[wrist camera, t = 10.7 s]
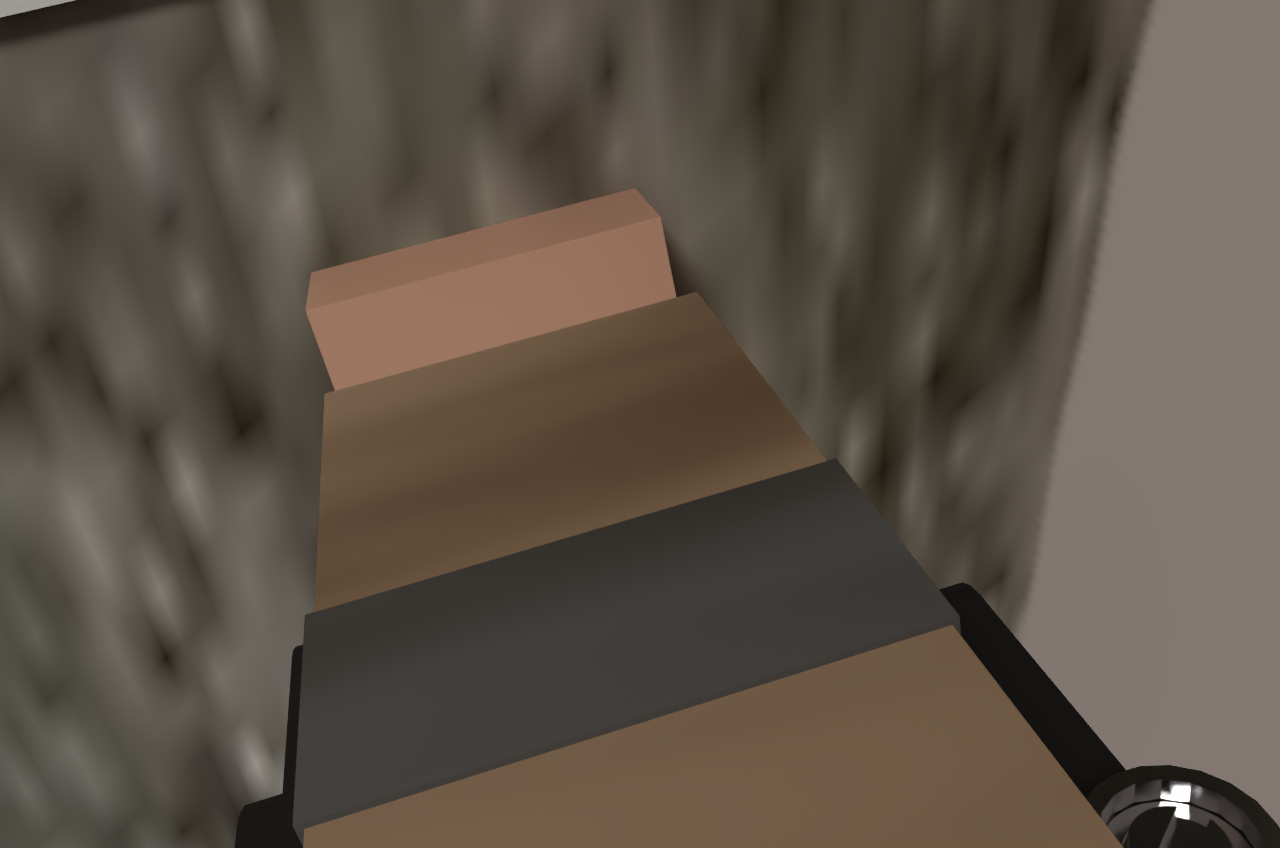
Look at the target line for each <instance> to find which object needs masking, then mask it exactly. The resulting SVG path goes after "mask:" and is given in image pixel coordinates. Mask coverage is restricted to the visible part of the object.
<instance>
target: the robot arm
mask: <svg viewBox="0 0 1280 848" xmlns="http://www.w3.org/2000/svg"><path fill="white" fill-rule="evenodd" d="M939 590H940V592H941V593H942V594H943V596H944V597H945V598H946V599H947V601H948V602H949V603H950V604H951V606H952V607H953V608H954V610H955V611H956V612H957V613H958V615H959V616H960V629H961V637H962V638H963V639H964V640H965V642H966V643H967V644H968V646H969V647H970V648H971V650H972V651H973V652H974V654H975V655H976V656H977V657H978V659H979V660H980V661H981V663H982V664H983V665H984V667H985V668H986V669H987V670H988V672H989V673H990V674H991V676H992V677H993V678H994V680H995V681H996V682H997V683H998V685H999V686H1000V687H1001V689H1002V690H1003V691H1004V693H1005V694H1006V695H1007V697H1008V698H1009V699H1010V700H1011V702H1012V703H1013V704H1014V706H1015V707H1016V708H1017V710H1018V711H1019V712H1020V713H1021V715H1022V716H1023V717H1024V719H1025V720H1026V721H1027V723H1028V724H1029V725H1030V727H1031V728H1032V729H1033V730H1034V732H1035V733H1036V734H1037V736H1038V737H1039V738H1040V740H1041V741H1042V742H1043V743H1044V745H1045V746H1046V747H1047V749H1048V750H1049V751H1050V753H1051V754H1052V755H1053V756H1054V758H1055V759H1056V760H1057V762H1058V763H1059V764H1060V766H1061V767H1062V768H1063V770H1064V771H1065V772H1066V773H1067V775H1068V776H1069V777H1070V779H1071V780H1072V781H1073V783H1074V784H1075V785H1076V786H1077V788H1078V789H1079V790H1080V792H1081V793H1082V794H1083V796H1084V797H1085V798H1086V800H1087V801H1088V802H1089V803H1090V805H1091V806H1092V807H1093V809H1094V810H1095V811H1096V813H1097V814H1098V815H1099V816H1100V818H1101V819H1102V820H1103V822H1104V823H1105V824H1106V826H1107V827H1108V828H1109V829H1110V831H1111V832H1112V833H1113V835H1114V836H1115V837H1116V839H1117V840H1118V841H1119V843H1120V844H1121V845H1122V846H1123V848H1280V828H1279V826H1278V825H1277V823H1276V822H1275V821H1274V820H1273V819H1272V818H1271V817H1270V815H1269V814H1268V813H1267V812H1266V811H1265V810H1264V809H1263V808H1262V807H1261V805H1260V804H1259V803H1258V802H1257V801H1256V800H1254V799H1253V798H1251V797H1250V796H1248V795H1247V794H1245V793H1244V792H1243V791H1241V790H1240V789H1238V788H1237V787H1235V786H1234V785H1233V784H1231V783H1228V782H1226V781H1224V780H1221V779H1219V778H1216V777H1214V776H1212V775H1209V774H1207V773H1204V772H1202V771H1198V770H1193V769H1187V768H1182V767H1177V766H1171V765H1162V766H1139V767H1136V768H1132V769H1129V770H1125V768H1124V767H1123V766H1122V765H1121V764H1120V762H1119V761H1118V760H1117V759H1116V758H1115V756H1114V755H1113V754H1112V753H1111V752H1110V751H1109V749H1108V748H1107V747H1106V746H1105V744H1104V743H1103V742H1102V741H1101V740H1100V739H1099V737H1098V736H1097V735H1096V734H1095V732H1094V731H1093V730H1092V729H1091V727H1090V726H1089V725H1088V724H1087V723H1086V722H1085V720H1084V719H1083V718H1082V717H1081V715H1080V714H1079V713H1078V712H1077V711H1076V709H1075V708H1074V707H1073V706H1072V705H1071V704H1070V702H1069V701H1068V700H1067V699H1066V697H1065V696H1064V695H1063V694H1062V693H1061V691H1060V690H1059V689H1058V688H1057V687H1056V686H1055V684H1054V683H1053V682H1052V681H1051V679H1050V678H1049V677H1048V676H1047V675H1046V673H1045V672H1044V671H1043V670H1042V669H1041V667H1040V666H1039V665H1038V664H1037V663H1036V661H1035V660H1034V659H1033V658H1032V657H1031V655H1030V654H1029V653H1028V652H1027V651H1026V650H1025V648H1024V647H1023V646H1022V645H1021V643H1020V642H1019V641H1018V640H1017V639H1016V637H1015V636H1014V635H1013V634H1012V633H1011V631H1010V630H1009V629H1008V628H1007V627H1006V625H1005V624H1004V623H1003V622H1002V621H1001V619H1000V618H999V617H998V616H997V615H996V613H995V612H994V611H993V610H992V609H991V607H990V606H989V605H988V604H987V603H986V601H985V600H984V599H983V598H982V597H981V595H980V594H979V593H978V592H977V591H976V590H974V589H973V588H972V587H971V586H970V585H968V584H965V583H959V584H956V585H952V586H949V587H946V588H943V589H939ZM302 657H303V645H300V646H296V647H295V648H294V650H293V655H292V666H291V680H290V695H289V709H288V723H287V738H286V752H285V766H284V781H283V794H280V795H277V796H274V797H270V798H267V799H264V800H261V801H258V802H254V803H251V804H248V805H245V807H244V808H243V810H242V811H241V813H240V816H239V821H238V825H237V832H236V841H235V848H303V846H302V844H301V842H300V840H299V838H298V836H297V834H296V832H295V830H294V828H293V809H294V792H295V776H296V759H297V742H298V725H299V708H300V691H301V674H302Z"/></svg>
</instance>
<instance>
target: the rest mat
mask: <svg viewBox="0 0 1280 848" xmlns="http://www.w3.org/2000/svg"><path fill="white" fill-rule="evenodd" d="M70 1H74V0H0V17H5V16H9V15H13V14H18V13H22V12H27V11H31V10H35V9H40V8H44V7H48V6H53V5H57V4H61V3H66V2H70Z"/></svg>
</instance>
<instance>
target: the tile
mask: <svg viewBox="0 0 1280 848" xmlns="http://www.w3.org/2000/svg"><path fill="white" fill-rule="evenodd" d="M673 298H676V293H675V288H674V283H673V278H672V273H671V268H670V262H669V257H668V252H667V247H666V242H665V237H664V232H663V227H662V222H661V217H660V216H659V214H658V213H657V212H656V211H655V210H654V209H653V208H652V207H651V205H650V204H649V203H648V202H647V201H646V200H645V199H644V198H643V196H642V195H641V194H640V193H639V192H638V191H637V190H636V189H635V188H633V189H629V190H626V191H622V192H618V193H614V194H610V195H607V196H603V197H599V198H595V199H591V200H587V201H584V202H580V203H576V204H572V205H568V206H564V207H561V208H557V209H553V210H549V211H545V212H541V213H538V214H534V215H530V216H526V217H522V218H519V219H515V220H511V221H507V222H503V223H499V224H496V225H492V226H488V227H484V228H480V229H476V230H473V231H469V232H465V233H461V234H457V235H453V236H450V237H446V238H442V239H438V240H434V241H431V242H427V243H423V244H419V245H415V246H411V247H408V248H404V249H400V250H396V251H392V252H388V253H385V254H381V255H377V256H373V257H369V258H366V259H362V260H358V261H354V262H350V263H346V264H343V265H339V266H335V267H331V268H327V269H323V270H320V271H316V272H312V273H311V277H310V284H309V291H308V298H307V305H306V313H307V316H308V318H309V321H310V324H311V327H312V329H313V332H314V335H315V337H316V340H317V343H318V346H319V348H320V351H321V354H322V356H323V359H324V362H325V365H326V367H327V370H328V373H329V376H330V378H331V381H332V384H333V386H334V389H335V391H337V390H340V389H344V388H348V387H351V386H355V385H359V384H362V383H366V382H370V381H373V380H377V379H381V378H384V377H388V376H392V375H395V374H399V373H403V372H406V371H410V370H413V369H417V368H421V367H424V366H428V365H432V364H435V363H439V362H443V361H446V360H450V359H454V358H457V357H461V356H465V355H468V354H472V353H476V352H479V351H483V350H486V349H490V348H494V347H497V346H501V345H505V344H508V343H512V342H516V341H519V340H523V339H527V338H530V337H534V336H538V335H541V334H545V333H549V332H552V331H556V330H559V329H563V328H567V327H570V326H574V325H578V324H581V323H585V322H589V321H592V320H596V319H600V318H603V317H607V316H611V315H614V314H618V313H622V312H625V311H629V310H632V309H636V308H640V307H643V306H647V305H651V304H654V303H658V302H662V301H665V300H669V299H673Z"/></svg>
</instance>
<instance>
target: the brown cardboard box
mask: <svg viewBox="0 0 1280 848" xmlns="http://www.w3.org/2000/svg"><path fill="white" fill-rule="evenodd" d="M293 828H294V830H295V832H296V834H297V836H298V838H299V840H300V842H301V844H302V846H303V848H1123V846H1122V845H1121V844H1120V843H1119V841H1118V840H1117V839H1116V837H1115V836H1114V835H1113V833H1112V832H1111V831H1110V829H1109V828H1108V827H1107V826H1106V824H1105V823H1104V822H1103V820H1102V819H1101V818H1100V816H1099V815H1098V814H1097V813H1096V811H1095V810H1094V809H1093V807H1092V806H1091V805H1090V803H1089V802H1088V801H1087V800H1086V798H1085V797H1084V796H1083V794H1082V793H1081V792H1080V790H1079V789H1078V788H1077V786H1076V785H1075V784H1074V783H1073V781H1072V780H1071V779H1070V777H1069V776H1068V775H1067V773H1066V772H1065V771H1064V770H1063V768H1062V767H1061V766H1060V764H1059V763H1058V762H1057V760H1056V759H1055V758H1054V756H1053V755H1052V754H1051V753H1050V751H1049V750H1048V749H1047V747H1046V746H1045V745H1044V743H1043V742H1042V741H1041V740H1040V738H1039V737H1038V736H1037V734H1036V733H1035V732H1034V730H1033V729H1032V728H1031V727H1030V725H1029V724H1028V723H1027V721H1026V720H1025V719H1024V717H1023V716H1022V715H1021V713H1020V712H1019V711H1018V710H1017V708H1016V707H1015V706H1014V704H1013V703H1012V702H1011V700H1010V699H1009V698H1008V697H1007V695H1006V694H1005V693H1004V691H1003V690H1002V689H1001V687H1000V686H999V685H998V683H997V682H996V681H995V680H994V678H993V677H992V676H991V674H990V673H989V672H988V670H987V669H986V668H985V667H984V665H983V664H982V663H981V661H980V660H979V659H978V657H977V656H976V655H975V654H974V652H973V651H972V650H971V648H970V647H969V646H968V644H967V643H966V642H965V640H964V639H963V638H962V637H961V629H960V616H959V615H958V613H957V612H956V611H955V610H954V608H953V607H952V606H951V604H950V603H949V602H948V601H947V599H946V598H945V597H944V596H943V594H942V593H941V592H940V590H939V589H938V588H937V587H936V585H935V584H934V583H933V581H932V580H931V579H930V578H929V576H928V575H927V574H926V573H925V571H924V570H923V569H922V567H921V566H920V565H919V564H918V562H917V561H916V560H915V559H914V557H913V556H912V555H911V553H910V552H909V551H908V550H907V548H906V547H905V546H904V545H903V543H902V542H901V541H900V539H899V538H898V537H897V536H896V534H895V533H894V532H893V531H892V529H891V528H890V527H889V525H888V524H887V523H886V522H885V520H884V519H883V518H882V517H881V515H880V514H879V513H878V511H877V510H876V509H875V508H874V506H873V505H872V504H871V503H870V501H869V500H868V499H867V497H866V496H865V495H864V494H863V492H862V491H861V490H860V488H859V487H858V486H857V485H856V483H855V482H854V481H853V480H852V478H851V477H850V476H849V474H848V473H847V472H846V471H845V469H844V468H843V467H842V466H841V464H840V463H839V462H838V460H837V459H832V460H829V461H826V459H825V458H824V457H823V455H822V454H821V453H820V451H819V450H818V449H817V448H816V446H815V445H814V444H813V442H812V441H811V440H810V438H809V437H808V436H807V434H806V433H805V432H804V431H803V429H802V428H801V427H800V425H799V424H798V423H797V421H796V420H795V419H794V418H793V416H792V415H791V414H790V412H789V411H788V410H787V408H786V407H785V406H784V405H783V403H782V402H781V401H780V399H779V398H778V397H777V395H776V394H775V393H774V391H773V390H772V389H771V388H770V386H769V385H768V384H767V382H766V381H765V380H764V378H763V377H762V376H761V375H760V373H759V372H758V371H757V369H756V368H755V367H754V365H753V364H752V363H751V361H750V360H749V359H748V358H747V356H746V355H745V354H744V352H743V351H742V350H741V348H740V347H739V346H738V345H737V343H736V342H735V341H734V339H733V338H732V337H731V335H730V334H729V333H728V332H727V330H726V329H725V328H724V326H723V325H722V324H721V322H720V321H719V320H718V318H717V317H716V316H715V315H714V313H713V312H712V311H711V309H710V308H709V307H708V305H707V304H706V303H705V302H704V300H703V299H702V298H701V296H700V295H699V294H698V292H695V293H691V294H687V295H684V296H680V297H676V298H673V299H669V300H665V301H662V302H658V303H654V304H651V305H647V306H643V307H640V308H636V309H632V310H629V311H625V312H622V313H618V314H614V315H611V316H607V317H603V318H600V319H596V320H592V321H589V322H585V323H581V324H578V325H574V326H570V327H567V328H563V329H559V330H556V331H552V332H549V333H545V334H541V335H538V336H534V337H530V338H527V339H523V340H519V341H516V342H512V343H508V344H505V345H501V346H497V347H494V348H490V349H486V350H483V351H479V352H476V353H472V354H468V355H465V356H461V357H457V358H454V359H450V360H446V361H443V362H439V363H435V364H432V365H428V366H424V367H421V368H417V369H413V370H410V371H406V372H403V373H399V374H395V375H392V376H388V377H384V378H381V379H377V380H373V381H370V382H366V383H362V384H359V385H355V386H351V387H348V388H344V389H340V390H337V391H333V392H330V393H326V394H325V397H324V418H323V440H322V461H321V482H320V503H319V525H318V546H317V567H316V588H315V610H314V612H313V613H310V614H306V615H305V623H304V640H303V657H302V674H301V691H300V708H299V725H298V742H297V759H296V776H295V792H294V809H293Z"/></svg>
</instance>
